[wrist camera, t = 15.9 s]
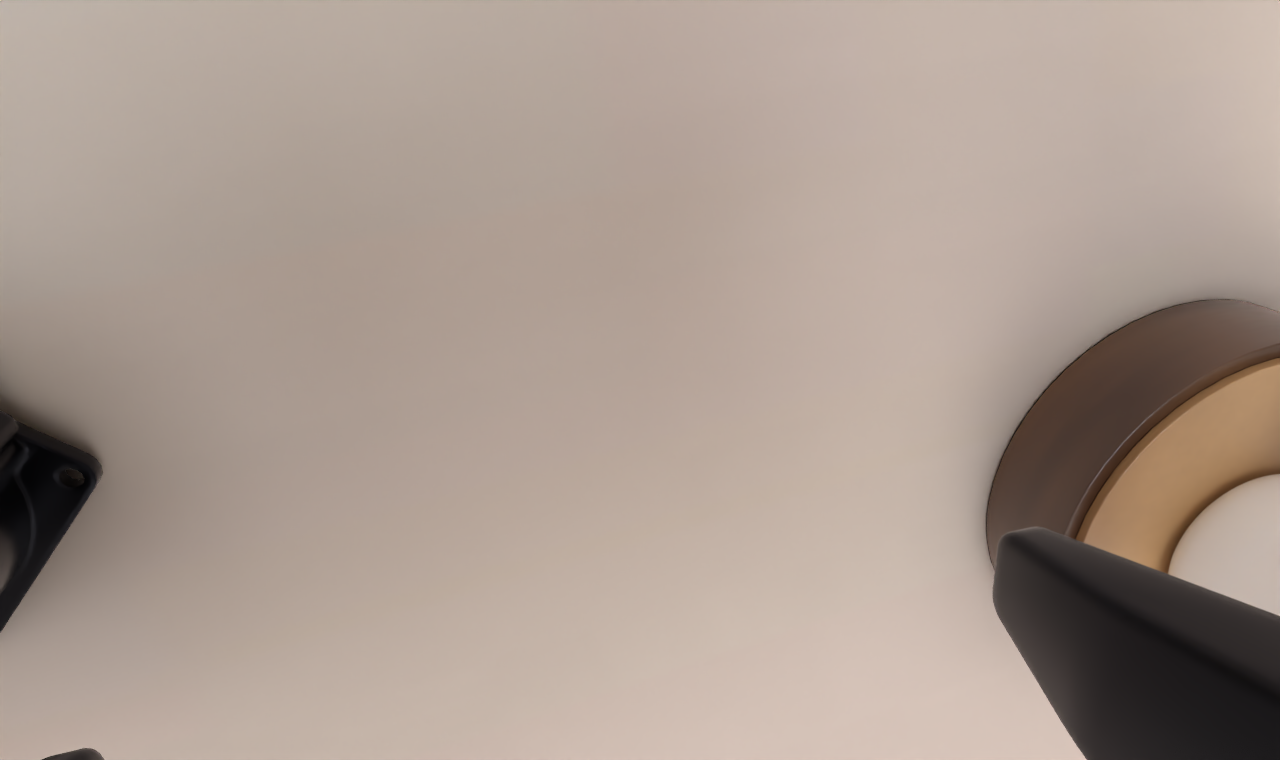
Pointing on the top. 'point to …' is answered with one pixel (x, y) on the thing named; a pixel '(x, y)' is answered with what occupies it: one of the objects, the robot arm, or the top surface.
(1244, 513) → the white tumbler
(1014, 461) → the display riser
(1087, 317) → the top surface
